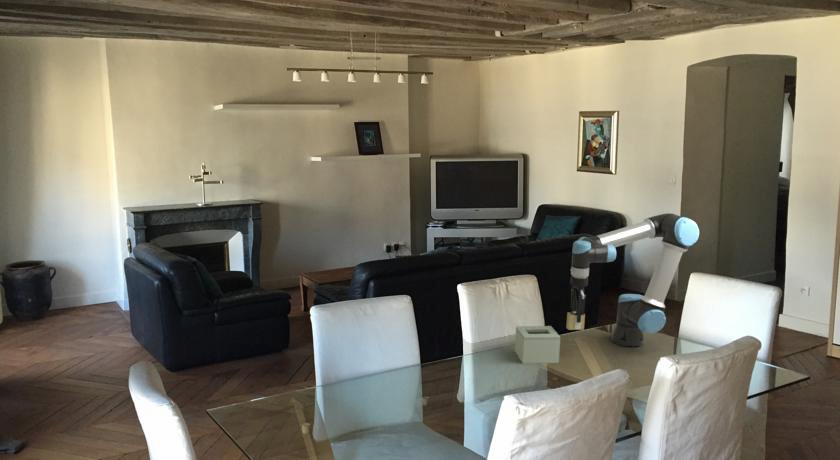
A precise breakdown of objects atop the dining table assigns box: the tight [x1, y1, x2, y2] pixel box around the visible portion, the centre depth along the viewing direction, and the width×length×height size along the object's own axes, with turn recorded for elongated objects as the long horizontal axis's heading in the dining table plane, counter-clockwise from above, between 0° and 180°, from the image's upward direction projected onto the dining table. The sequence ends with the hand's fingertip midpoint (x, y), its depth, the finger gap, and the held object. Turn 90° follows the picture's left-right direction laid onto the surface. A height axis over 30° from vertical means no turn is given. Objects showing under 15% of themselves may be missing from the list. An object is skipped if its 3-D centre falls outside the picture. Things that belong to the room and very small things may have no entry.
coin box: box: [514, 325, 561, 365], centre depth 318 cm, size 16×14×12 cm
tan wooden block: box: [565, 311, 586, 331], centre depth 318 cm, size 7×3×7 cm, turn 97°
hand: (575, 327), depth 319 cm, fingers closed on tan wooden block, 3 cm apart
